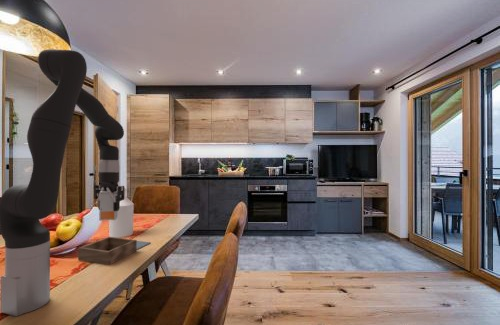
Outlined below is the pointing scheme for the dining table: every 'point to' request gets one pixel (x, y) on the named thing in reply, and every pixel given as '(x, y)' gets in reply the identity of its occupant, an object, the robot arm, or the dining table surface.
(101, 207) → the skincare box
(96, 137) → the robot arm
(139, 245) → the mat
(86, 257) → the tray
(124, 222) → the bottle
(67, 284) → the dining table surface
